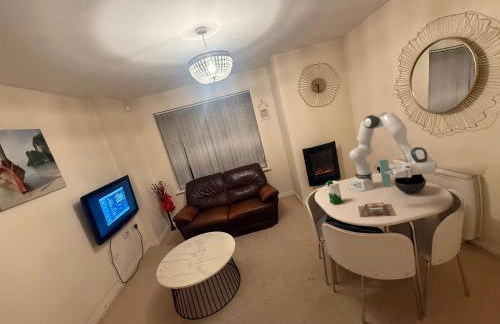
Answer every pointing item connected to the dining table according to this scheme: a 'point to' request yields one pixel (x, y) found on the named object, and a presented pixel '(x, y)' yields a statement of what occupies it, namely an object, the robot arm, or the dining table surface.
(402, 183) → the coal bowl
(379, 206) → the oak offcut
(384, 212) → the offcut rack
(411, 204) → the dining table surface
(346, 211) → the dining table surface
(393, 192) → the dining table surface
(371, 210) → the grey offcut
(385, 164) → the teal slat
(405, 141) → the robot arm
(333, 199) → the milk carton
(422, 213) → the dining table surface
